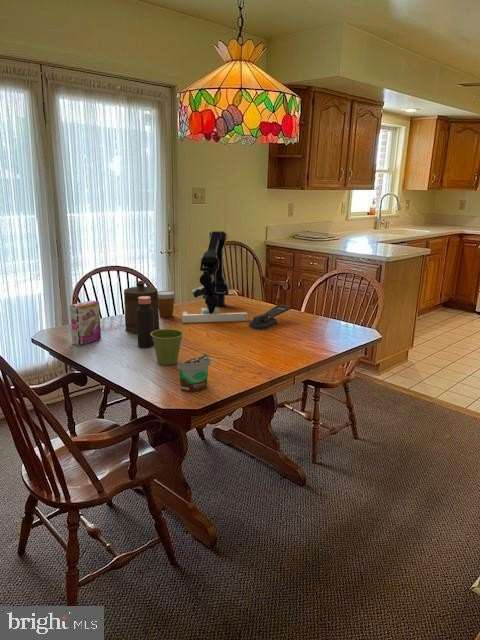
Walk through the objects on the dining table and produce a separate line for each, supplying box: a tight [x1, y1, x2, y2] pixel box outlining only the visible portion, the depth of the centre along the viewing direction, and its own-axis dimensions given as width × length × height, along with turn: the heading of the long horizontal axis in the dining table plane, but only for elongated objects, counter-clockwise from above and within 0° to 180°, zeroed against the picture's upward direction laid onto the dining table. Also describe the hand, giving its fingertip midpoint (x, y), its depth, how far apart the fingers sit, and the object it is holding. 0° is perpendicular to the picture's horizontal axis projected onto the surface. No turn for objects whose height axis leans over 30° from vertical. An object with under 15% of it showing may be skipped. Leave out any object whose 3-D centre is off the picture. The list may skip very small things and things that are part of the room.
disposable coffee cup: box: [158, 290, 176, 319], centre depth 236 cm, size 10×10×12 cm
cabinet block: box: [200, 306, 220, 314], centre depth 234 cm, size 6×8×6 cm
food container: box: [176, 352, 212, 393], centre depth 154 cm, size 12×6×10 cm, turn 138°
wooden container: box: [123, 280, 160, 335], centre depth 213 cm, size 15×15×22 cm
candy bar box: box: [69, 299, 102, 346], centre depth 196 cm, size 11×5×16 cm, turn 145°
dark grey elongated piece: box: [248, 304, 292, 331], centre depth 228 cm, size 9×7×25 cm
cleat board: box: [182, 311, 249, 324], centre depth 234 cm, size 9×31×4 cm, turn 100°
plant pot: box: [150, 328, 185, 366], centre depth 176 cm, size 12×12×11 cm
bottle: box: [136, 296, 155, 349], centre depth 192 cm, size 7×7×20 cm
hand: (209, 313), depth 234 cm, fingers open, 7 cm apart
